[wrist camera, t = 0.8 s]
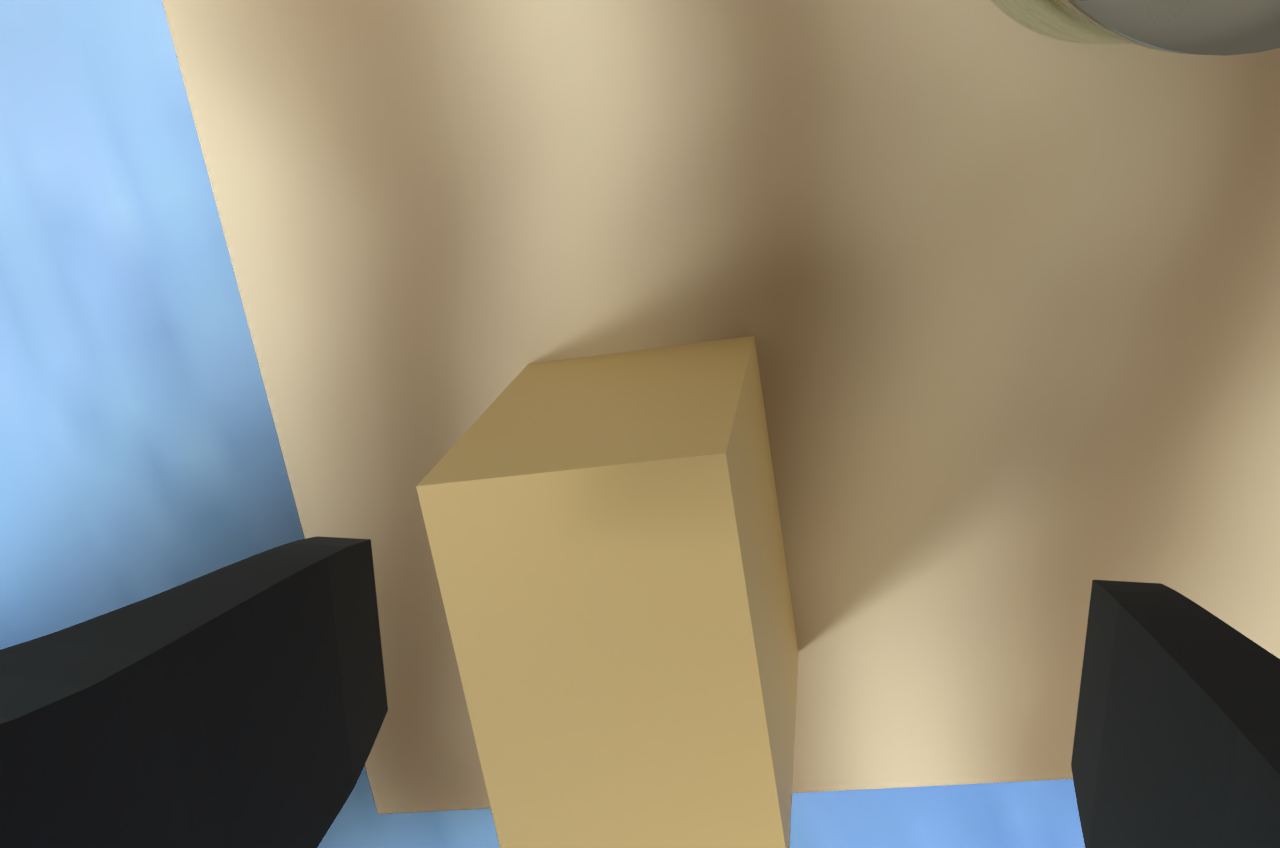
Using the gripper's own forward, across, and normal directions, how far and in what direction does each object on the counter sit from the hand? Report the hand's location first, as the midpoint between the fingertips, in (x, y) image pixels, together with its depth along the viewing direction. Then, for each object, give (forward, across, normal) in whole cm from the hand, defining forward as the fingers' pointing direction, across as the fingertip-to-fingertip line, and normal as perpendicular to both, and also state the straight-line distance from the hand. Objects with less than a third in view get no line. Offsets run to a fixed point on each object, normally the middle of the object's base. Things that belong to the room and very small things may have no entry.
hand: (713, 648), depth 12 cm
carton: (+9, +2, +2) cm, 9 cm away
